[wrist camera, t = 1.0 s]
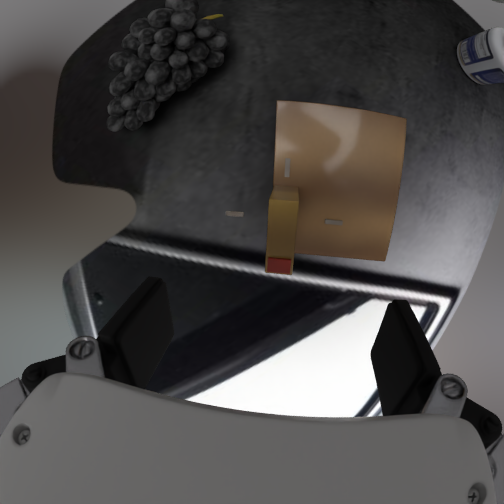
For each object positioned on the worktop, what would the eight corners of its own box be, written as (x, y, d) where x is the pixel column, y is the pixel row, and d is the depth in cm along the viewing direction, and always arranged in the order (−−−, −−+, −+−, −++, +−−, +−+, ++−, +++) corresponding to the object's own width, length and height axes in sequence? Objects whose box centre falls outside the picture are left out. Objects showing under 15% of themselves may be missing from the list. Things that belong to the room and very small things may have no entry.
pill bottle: (496, 73, 14) (551, 68, 6) (477, 92, 17) (535, 90, 8) (469, 33, 13) (519, 14, 5) (447, 51, 16) (500, 30, 7)
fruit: (77, 153, 17) (211, -4, 11) (59, 98, 17) (163, -28, 11) (147, 159, 25) (260, 51, 19) (120, 111, 25) (213, 14, 19)
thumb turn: (274, 184, 20) (268, 199, 16) (298, 187, 20) (299, 202, 16) (271, 245, 22) (264, 274, 18) (293, 247, 22) (291, 277, 18)
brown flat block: (240, 105, 22) (227, 99, 18) (386, 120, 21) (407, 118, 16) (238, 241, 28) (226, 265, 23) (368, 253, 26) (381, 278, 22)
